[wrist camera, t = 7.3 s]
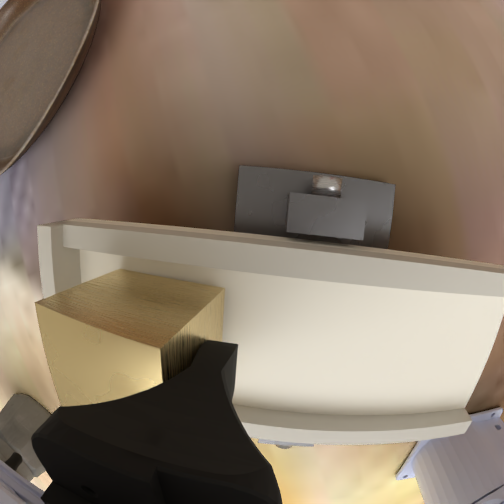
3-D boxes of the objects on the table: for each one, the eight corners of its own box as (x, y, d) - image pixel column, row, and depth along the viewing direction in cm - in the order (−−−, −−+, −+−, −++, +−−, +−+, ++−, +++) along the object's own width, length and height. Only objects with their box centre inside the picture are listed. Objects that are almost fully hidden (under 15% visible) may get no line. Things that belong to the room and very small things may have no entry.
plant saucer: (-39, 184, 18) (-61, 186, 15) (4, 14, 14) (-13, 7, 11) (88, 184, 16) (55, 184, 13) (153, -49, 12) (138, -70, 9)
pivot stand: (388, 185, 14) (425, 183, 10) (340, 411, 17) (350, 457, 13) (242, 167, 15) (226, 156, 11) (225, 401, 18) (212, 448, 14)
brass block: (225, 288, 11) (159, 348, 6) (219, 390, 12) (174, 468, 7) (120, 268, 12) (34, 302, 7) (127, 362, 13) (65, 415, 8)
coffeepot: (51, 456, 24) (-11, 534, 6) (4, 403, 23) (-70, 471, 6) (102, 441, 21) (17, 565, 3) (36, 368, 20) (-81, 469, 3)
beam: (501, 265, 11) (539, 281, 8) (450, 409, 12) (469, 442, 9) (80, 218, 13) (37, 225, 10) (93, 365, 15) (64, 391, 12)
